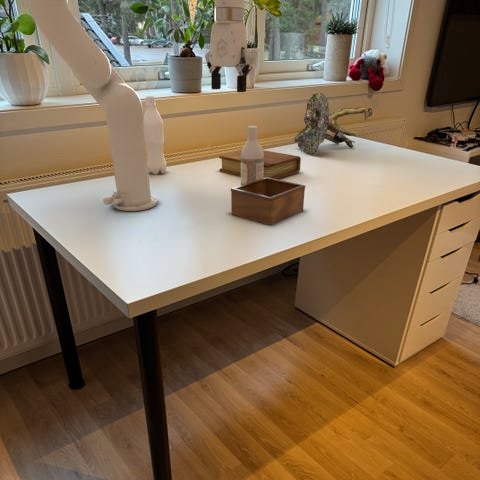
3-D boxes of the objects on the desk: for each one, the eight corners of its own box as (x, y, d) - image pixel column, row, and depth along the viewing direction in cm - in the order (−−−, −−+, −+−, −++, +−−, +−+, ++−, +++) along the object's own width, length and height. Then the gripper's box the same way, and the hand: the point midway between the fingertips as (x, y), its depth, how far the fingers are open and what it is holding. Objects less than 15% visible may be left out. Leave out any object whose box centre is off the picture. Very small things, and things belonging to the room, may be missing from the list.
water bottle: (169, 170, 168) (163, 95, 154) (164, 175, 162) (157, 98, 148) (150, 169, 168) (142, 95, 155) (145, 174, 162) (136, 98, 149)
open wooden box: (270, 225, 118) (271, 198, 114) (230, 214, 126) (230, 188, 122) (303, 210, 128) (305, 185, 124) (265, 201, 136) (266, 176, 132)
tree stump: (341, 138, 174) (386, 121, 194) (303, 85, 176) (351, 73, 196) (306, 175, 193) (351, 156, 213) (272, 127, 194) (320, 112, 215)
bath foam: (236, 193, 142) (236, 125, 132) (255, 190, 145) (257, 123, 135) (247, 199, 137) (248, 129, 127) (266, 196, 140) (269, 127, 129)
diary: (300, 172, 165) (301, 156, 161) (267, 182, 153) (267, 165, 150) (253, 162, 178) (253, 147, 175) (219, 171, 166) (219, 155, 163)
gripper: (195, 16, 119) (197, 88, 128) (244, 15, 110) (242, 93, 119) (215, 18, 124) (215, 87, 133) (264, 17, 115) (260, 92, 124)
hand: (228, 90), depth 126 cm, fingers open, 9 cm apart
